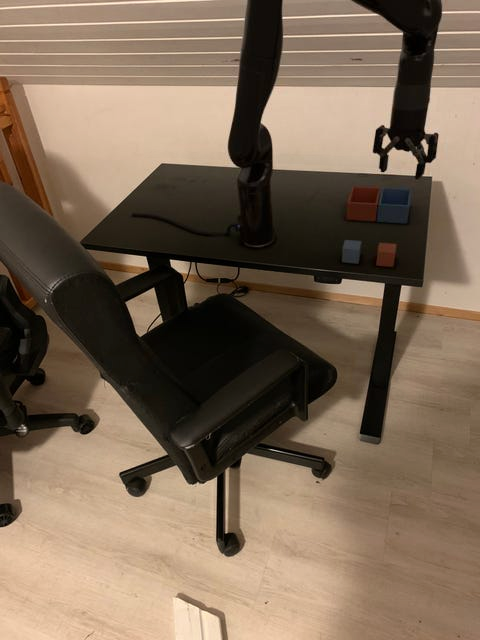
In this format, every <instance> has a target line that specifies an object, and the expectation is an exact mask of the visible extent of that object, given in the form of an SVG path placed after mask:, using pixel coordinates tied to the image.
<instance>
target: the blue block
mask: <svg viewBox="0 0 480 640" xmlns="http://www.w3.org/2000/svg"><path fill="white" fill-rule="evenodd" d="M361 253H362V240H352V239H350V240H349V239H344V241H343V246H342V250H341V263H346V264H357V265H359V263H360V258H361Z"/></svg>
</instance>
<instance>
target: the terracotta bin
mask: <svg viewBox="0 0 480 640" xmlns="http://www.w3.org/2000/svg"><path fill="white" fill-rule="evenodd" d="M381 190H382V187H378V186H377V187H374V186H353V185H352V187H351V190H350V193H349V197H348V199H347V203H346V219H345V220H346V221H362V222H377V213H378V204H379V200H380V195H381Z"/></svg>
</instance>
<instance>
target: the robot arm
mask: <svg viewBox="0 0 480 640" xmlns="http://www.w3.org/2000/svg"><path fill="white" fill-rule="evenodd" d="M350 1H351V2H352V3H354V4H356V5H358V6H359V7H361V8H363V9H365V10H367V11H368V12H371V13H372V14H375V15H378V16H380V17H381V18H383V19H384V20H385V21H387V23H389V24H391V25H392V26H393V27H395V28H396V29H397V30H399V31H400V32H402V39H401V48H400V49H401V50H400V55H399V57H398V62H397V68H396V69H397V70H396V78H395V85H394V89H393V94H392V102H391V111H390V120H389V127H386V126H385V125H383V124H381V125H380V126H378V127H377V128H376V129H375V133H374V139H373V145H372V153H373V154H375V155H376V154H377V156H379V163H378V169H379V170H380V173H385V172H387V170H388V165H389V157H390V156H389V153H390V152H391V151H392V150H393V149H395V150H396V151H404V152H407V153H409V152H411V154H412V156H413V157H415V159H416V161H417V164H416V170H415V175H414V179H415V180H419V179H420V178H422V177H423V176H424V174H425V171H426V166H427V165H426V164H431V163H433V161H434V160H436V158H437V153H438V152H437V151H438V144H439V143H438V142H439V133H438V132H434V133H426V130H425V127H426V122H427V118H428V117H427V116H428V111H429V105H430V102H431V88H432V87H431V85H432V78H433V71H434V66H435V65H434V64H435V47H436V42H437V38H438V32H439V28H440V27H439V26H440V23H441V20H442V18H443V17H442V16H443V2H442V0H350ZM283 2H284V0H247V1H246V6H245V7H246V8H245V13H244V18H243V19H244V20H243V29H242V37H241V43H240V49H239V50H240V52H239V61H238V76H237V85H236V91H235V92H236V93H235V102H234V109H233V115H232V121H231V124H230V125H231V126H230V129H229V135H228V139H227V153H228V156H229V159H230V161H231V162H232V163H233V165H235V166H236V167H237V168H239V172H238V173H237V177H236V188H237V197H238V206H239V212H238V214H237V218H236V220H235V221H234V222H233V223H231V224H229V225H228V226H227V227H226V232H222V233H216V232H209V231H202V230H198V229H194V228H191V227H190V226H186V225H184V224H181V223H179V222H177V221H174V220H172V219H170V218H167V217H164V216H160V215H156V214H149V213H135V212H131V213H132V214H131V215H132V216H133V217H145V218H153V219H158V220H161V221H164V222H167V223H170V224H173V225H175V226H177V227H179V228H182V229H184V230H187V231H189V232H192V233H194V234H198V235H204V236H209V237H210V236H211V237H219V236H222V237H223V236H224V237H225V236H227V235H229V234H230V233H231V229H232V228H233V227H234V232H235V233H239V239H240V244H241V245H244V246H246V247H248V248H251V249H261V248H265V247H268V246H270V245H272V244H273V243H274V241H275V228H274V216H273V199H272V183H271V181H272V175H273V171H274V155H273V154H274V152H273V151H274V149H273V147H274V146H273V140H272V139H273V138H272V136H271V133H270V131H269V129H268V128H267V126H266V125H265V124H263V123H262V119H263V116H264V112H265V109H266V108H267V105H268V103H269V100H270V98H271V95H272V93H273V91H274V89H275V86H276V83H277V80H278V77H279V73H280V68H281V62H282V55H283V48H284V20H283V19H284V18H283V4H284V3H283ZM386 136H387V138H388V140H389V141H390V142H388V144H387V145H386V146H385V147H383V144H384V143H383V142H384V138H385V137H386ZM424 140H425V144H426V145H427V153H426V152H425V147H424V145H423V143H422V142H423V141H424Z"/></svg>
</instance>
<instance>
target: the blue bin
mask: <svg viewBox="0 0 480 640" xmlns="http://www.w3.org/2000/svg"><path fill="white" fill-rule="evenodd" d="M411 195H412V188H395V187H381V192H380V200H379V204H378V212H377V217H376V222H377V223H393V224H404V225H405V224H408V219H409V213H410V208H411V198H412V196H411Z"/></svg>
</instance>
